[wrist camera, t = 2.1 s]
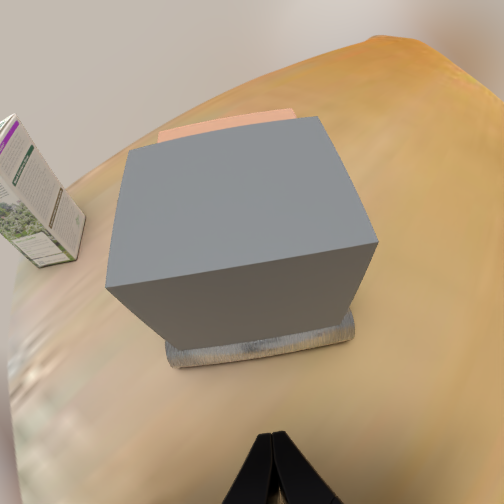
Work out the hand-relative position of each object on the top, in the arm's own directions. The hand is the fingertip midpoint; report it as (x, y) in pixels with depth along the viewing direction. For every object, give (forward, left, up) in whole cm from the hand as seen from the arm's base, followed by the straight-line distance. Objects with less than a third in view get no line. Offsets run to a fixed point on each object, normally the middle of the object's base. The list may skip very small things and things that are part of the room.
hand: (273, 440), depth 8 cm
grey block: (+10, 0, -8) cm, 12 cm away
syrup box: (+19, +19, -10) cm, 29 cm away
